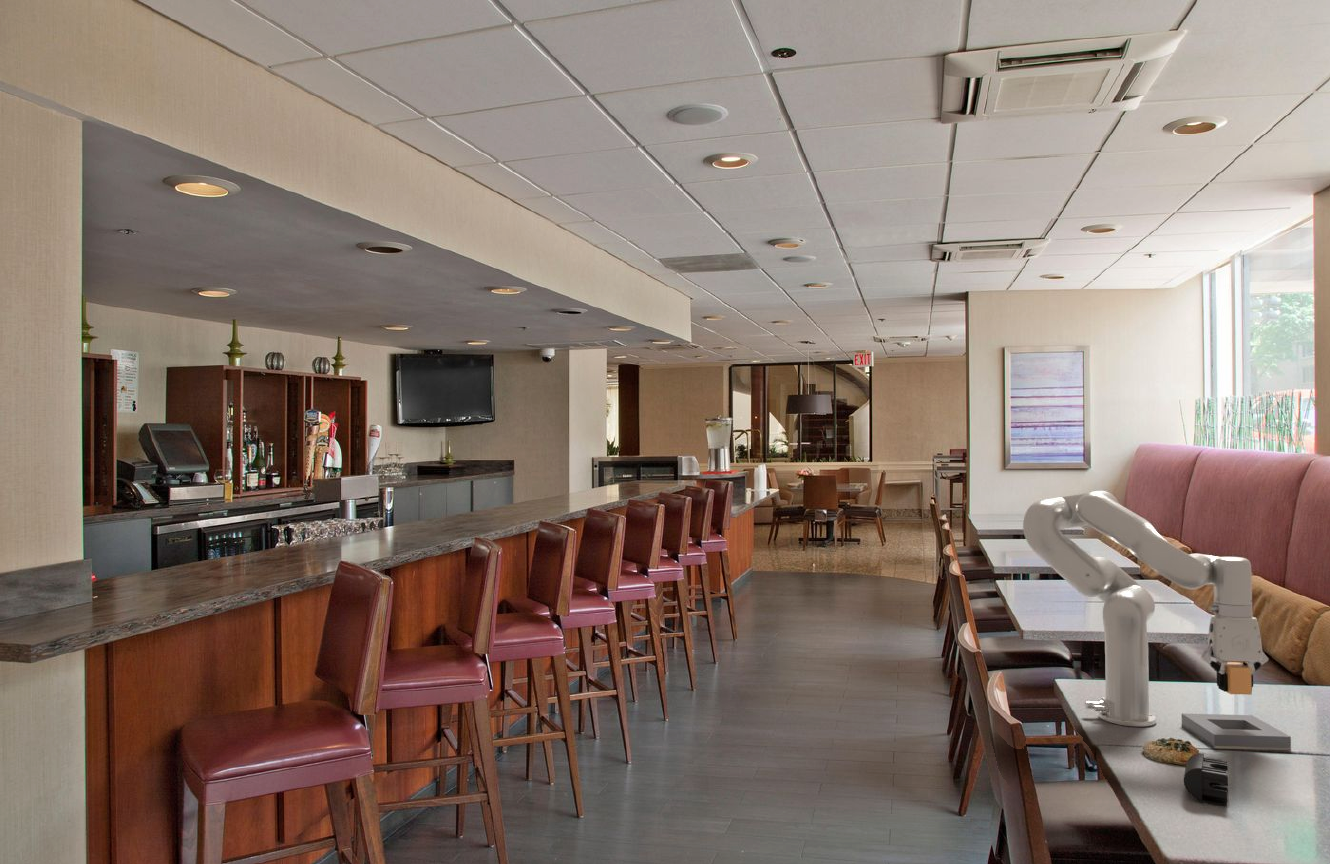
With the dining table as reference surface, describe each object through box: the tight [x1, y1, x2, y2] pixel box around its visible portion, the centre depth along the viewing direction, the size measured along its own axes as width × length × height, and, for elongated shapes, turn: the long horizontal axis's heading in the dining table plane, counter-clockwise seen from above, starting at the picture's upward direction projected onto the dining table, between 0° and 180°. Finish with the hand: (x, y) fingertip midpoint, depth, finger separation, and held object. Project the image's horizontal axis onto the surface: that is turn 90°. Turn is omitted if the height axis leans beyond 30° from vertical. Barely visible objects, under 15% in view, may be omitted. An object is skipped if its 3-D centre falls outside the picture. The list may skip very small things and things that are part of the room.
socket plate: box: [1181, 713, 1292, 751], centre depth 212 cm, size 16×16×3 cm
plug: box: [1225, 662, 1253, 696], centre depth 212 cm, size 4×6×6 cm
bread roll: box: [1141, 737, 1200, 766], centre depth 199 cm, size 11×11×5 cm
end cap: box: [1183, 752, 1229, 808], centre depth 177 cm, size 10×7×7 cm
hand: (1235, 689), depth 211 cm, fingers closed on plug, 4 cm apart
